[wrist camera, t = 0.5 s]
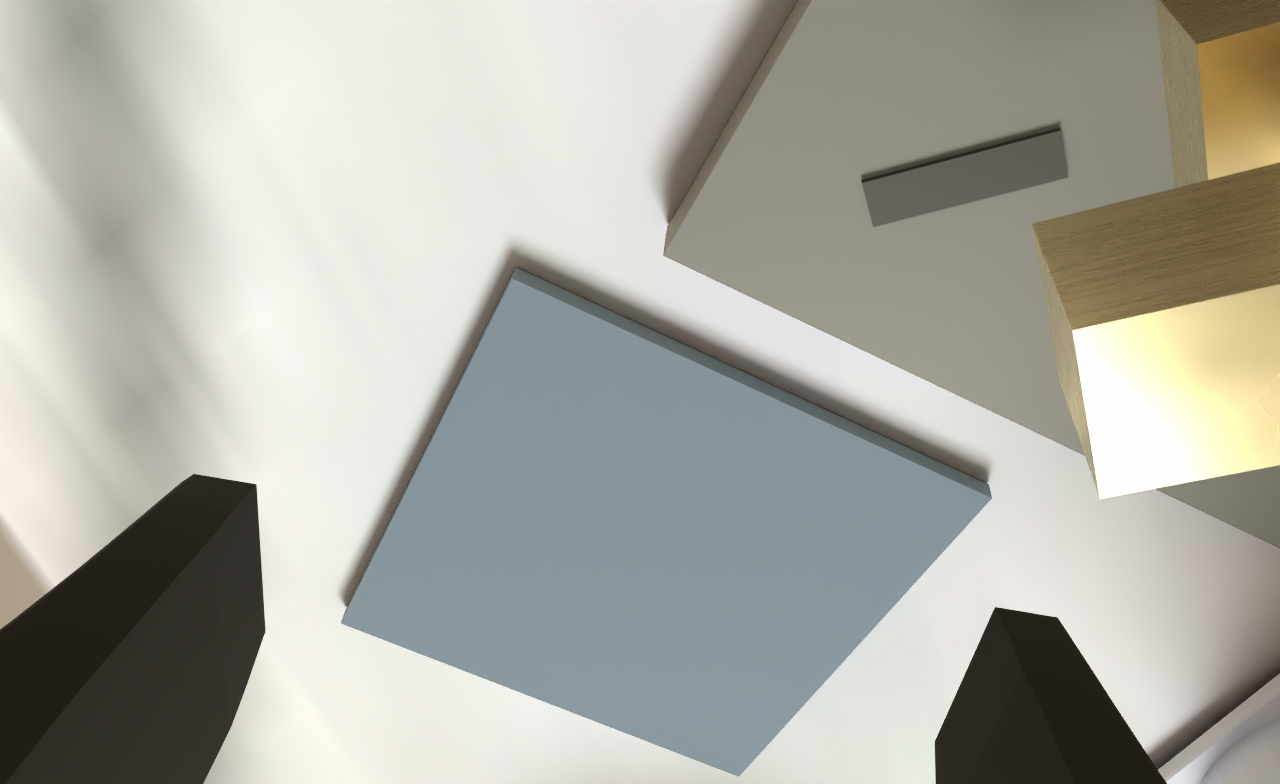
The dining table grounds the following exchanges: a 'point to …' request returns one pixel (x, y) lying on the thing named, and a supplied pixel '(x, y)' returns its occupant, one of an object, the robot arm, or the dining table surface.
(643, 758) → the dining table surface
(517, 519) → the pad
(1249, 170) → the t key
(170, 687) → the robot arm
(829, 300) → the cover plate
